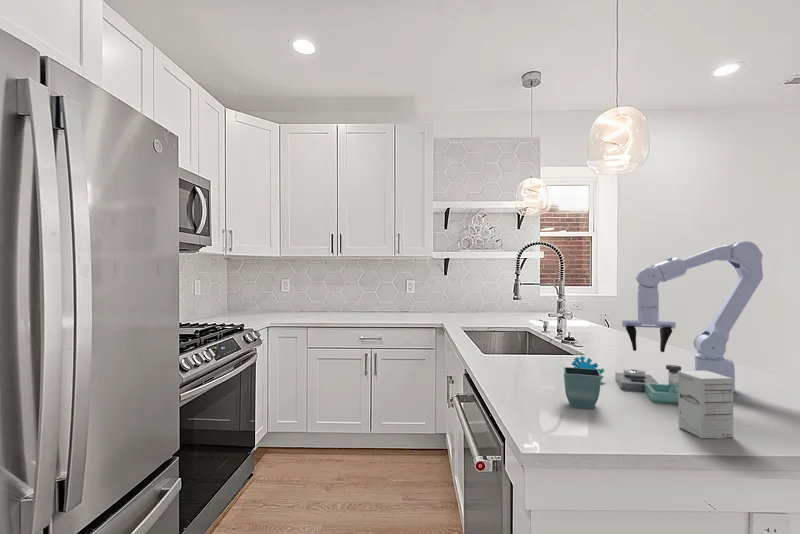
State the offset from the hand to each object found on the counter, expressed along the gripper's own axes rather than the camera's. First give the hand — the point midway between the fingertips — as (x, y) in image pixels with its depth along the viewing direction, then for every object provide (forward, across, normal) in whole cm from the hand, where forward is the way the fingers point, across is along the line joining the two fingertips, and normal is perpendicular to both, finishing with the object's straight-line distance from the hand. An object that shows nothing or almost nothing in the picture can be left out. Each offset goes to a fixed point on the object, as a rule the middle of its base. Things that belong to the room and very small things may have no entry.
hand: (648, 351), depth 144 cm
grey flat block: (+10, -4, -4) cm, 11 cm away
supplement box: (+10, +3, -45) cm, 46 cm away
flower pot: (+10, -21, -32) cm, 40 cm away
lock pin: (+9, +3, -16) cm, 19 cm away
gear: (+10, -17, -4) cm, 21 cm away
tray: (+10, +4, -17) cm, 20 cm away
